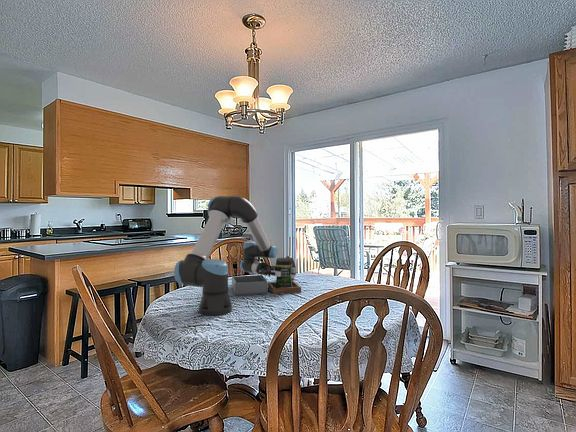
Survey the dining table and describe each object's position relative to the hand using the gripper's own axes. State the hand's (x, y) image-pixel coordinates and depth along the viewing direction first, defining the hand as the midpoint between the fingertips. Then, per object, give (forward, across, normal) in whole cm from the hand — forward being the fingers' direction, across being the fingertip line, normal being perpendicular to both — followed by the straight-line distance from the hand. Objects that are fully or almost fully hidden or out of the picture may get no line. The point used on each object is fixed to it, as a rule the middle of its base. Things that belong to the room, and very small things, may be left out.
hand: (287, 272), depth 195 cm
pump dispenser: (-19, -25, -11) cm, 33 cm away
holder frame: (-3, 0, -10) cm, 11 cm away
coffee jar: (-3, 0, -11) cm, 11 cm away
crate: (-16, +15, -10) cm, 24 cm away
